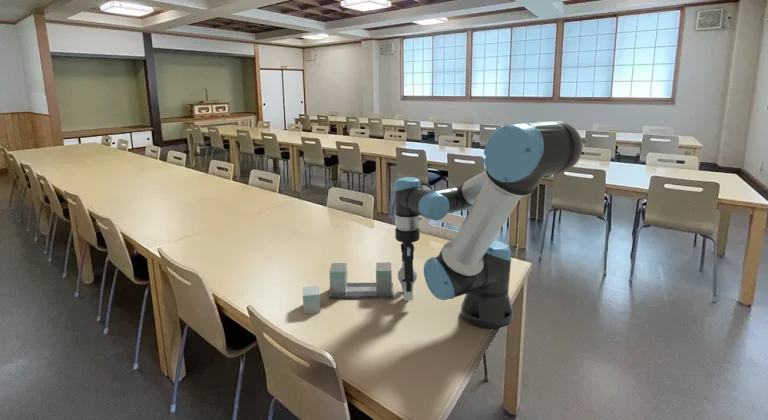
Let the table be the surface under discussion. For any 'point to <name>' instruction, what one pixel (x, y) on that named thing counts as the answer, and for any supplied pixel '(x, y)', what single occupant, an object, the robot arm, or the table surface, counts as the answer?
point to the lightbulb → (401, 276)
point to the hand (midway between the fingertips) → (407, 290)
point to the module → (311, 299)
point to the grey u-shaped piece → (360, 290)
